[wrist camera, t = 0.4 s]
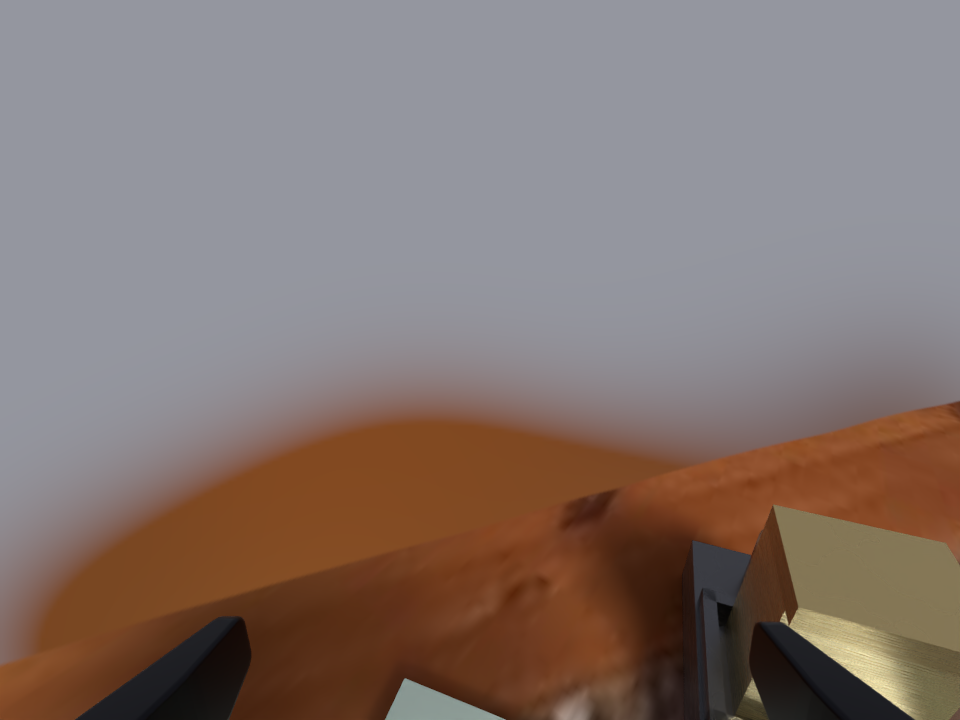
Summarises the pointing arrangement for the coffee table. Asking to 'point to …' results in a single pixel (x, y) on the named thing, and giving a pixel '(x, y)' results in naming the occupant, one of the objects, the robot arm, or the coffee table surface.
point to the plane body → (709, 627)
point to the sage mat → (432, 706)
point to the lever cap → (854, 609)
